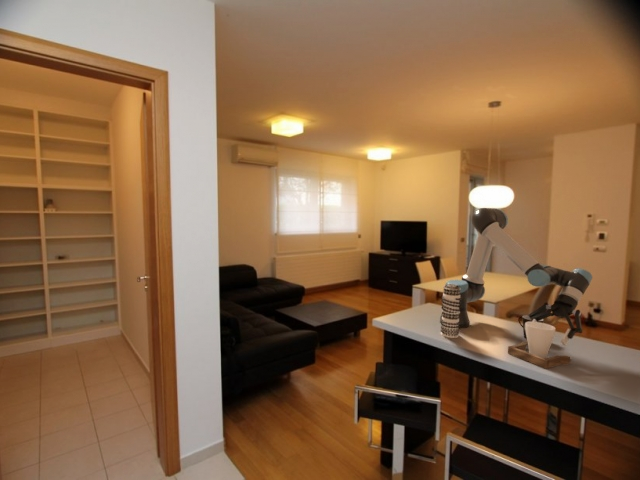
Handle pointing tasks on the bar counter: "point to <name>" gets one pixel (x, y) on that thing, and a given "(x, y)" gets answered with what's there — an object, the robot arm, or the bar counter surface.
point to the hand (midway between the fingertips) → (544, 337)
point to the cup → (539, 338)
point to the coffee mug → (525, 319)
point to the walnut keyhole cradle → (545, 363)
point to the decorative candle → (450, 311)
